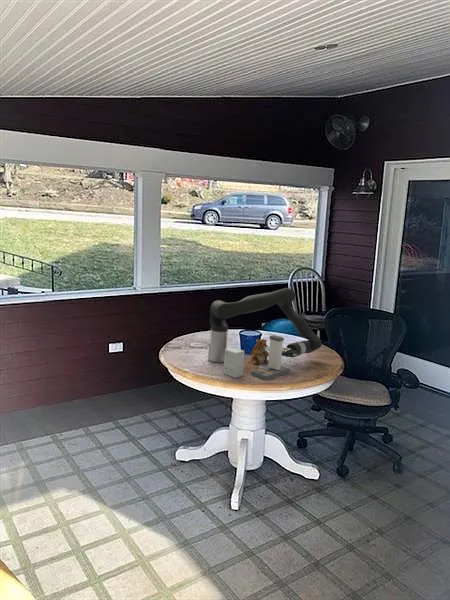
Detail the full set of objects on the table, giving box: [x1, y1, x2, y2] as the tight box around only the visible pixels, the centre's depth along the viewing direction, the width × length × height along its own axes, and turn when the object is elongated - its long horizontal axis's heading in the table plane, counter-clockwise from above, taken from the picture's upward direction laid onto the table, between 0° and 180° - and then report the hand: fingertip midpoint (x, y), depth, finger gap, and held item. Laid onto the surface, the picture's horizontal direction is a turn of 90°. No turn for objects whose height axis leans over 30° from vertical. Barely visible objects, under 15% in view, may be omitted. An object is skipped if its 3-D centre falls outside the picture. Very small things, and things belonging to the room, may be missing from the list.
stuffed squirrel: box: [250, 338, 270, 365], centre depth 277 cm, size 10×14×13 cm
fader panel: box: [250, 365, 291, 381], centre depth 257 cm, size 20×10×2 cm, turn 137°
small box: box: [223, 347, 245, 378], centre depth 251 cm, size 8×6×13 cm
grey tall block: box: [267, 334, 285, 370], centre depth 258 cm, size 4×6×17 cm, turn 47°
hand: (276, 354), depth 259 cm, fingers closed
